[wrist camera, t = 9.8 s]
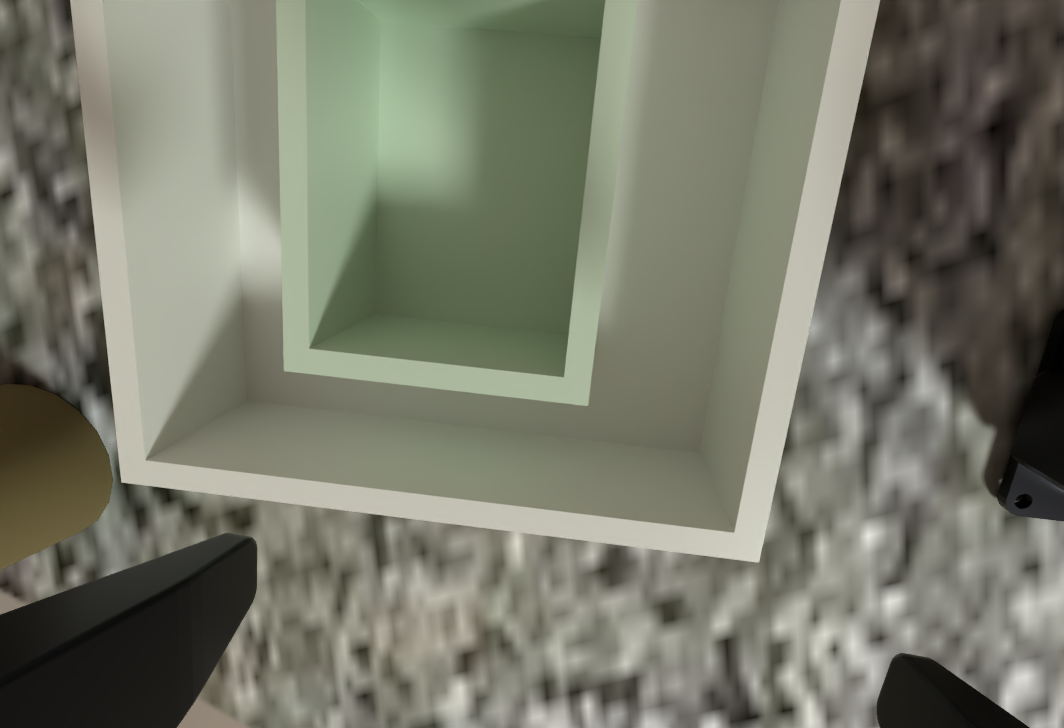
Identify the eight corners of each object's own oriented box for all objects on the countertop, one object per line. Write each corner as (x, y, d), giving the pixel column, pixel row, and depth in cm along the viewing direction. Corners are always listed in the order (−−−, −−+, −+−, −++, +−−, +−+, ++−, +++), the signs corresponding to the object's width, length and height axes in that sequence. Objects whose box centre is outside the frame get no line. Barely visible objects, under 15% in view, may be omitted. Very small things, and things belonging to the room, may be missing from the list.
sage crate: (627, 20, 16) (645, -58, 11) (587, 352, 18) (588, 405, 13) (367, 1, 16) (274, -84, 11) (362, 326, 19) (283, 370, 14)
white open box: (817, -109, 15) (939, -272, 10) (712, 465, 20) (758, 562, 14) (215, -144, 16) (37, -309, 11) (241, 410, 21) (121, 482, 15)
